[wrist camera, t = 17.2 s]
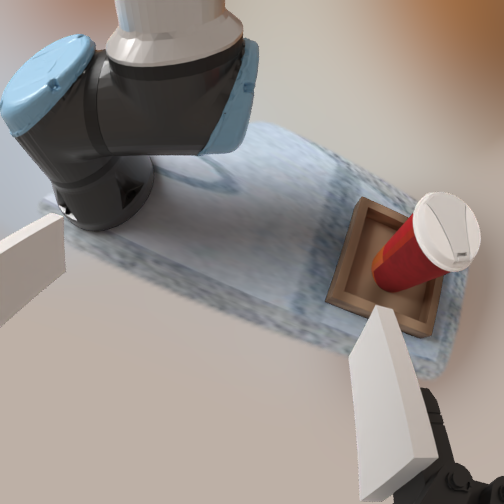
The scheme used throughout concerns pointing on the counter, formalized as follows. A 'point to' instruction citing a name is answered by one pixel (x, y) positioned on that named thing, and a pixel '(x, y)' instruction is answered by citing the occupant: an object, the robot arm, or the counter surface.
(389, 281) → the coffee cup
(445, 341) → the counter surface
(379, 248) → the walnut tray
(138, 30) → the robot arm
